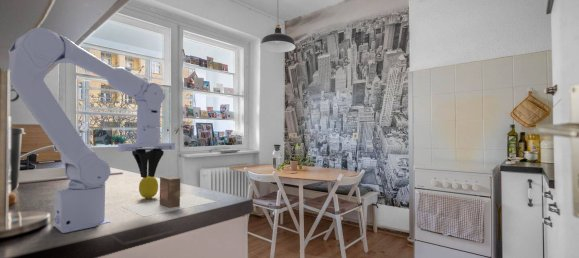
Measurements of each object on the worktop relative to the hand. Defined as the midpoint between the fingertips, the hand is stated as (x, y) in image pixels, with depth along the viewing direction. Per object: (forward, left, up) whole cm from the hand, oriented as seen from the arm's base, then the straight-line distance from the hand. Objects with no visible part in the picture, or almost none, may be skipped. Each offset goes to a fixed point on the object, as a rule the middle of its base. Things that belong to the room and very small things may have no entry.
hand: (147, 176), depth 82 cm
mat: (+8, +1, -9) cm, 12 cm away
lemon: (+6, +13, -10) cm, 17 cm away
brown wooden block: (+6, 0, -9) cm, 11 cm away
